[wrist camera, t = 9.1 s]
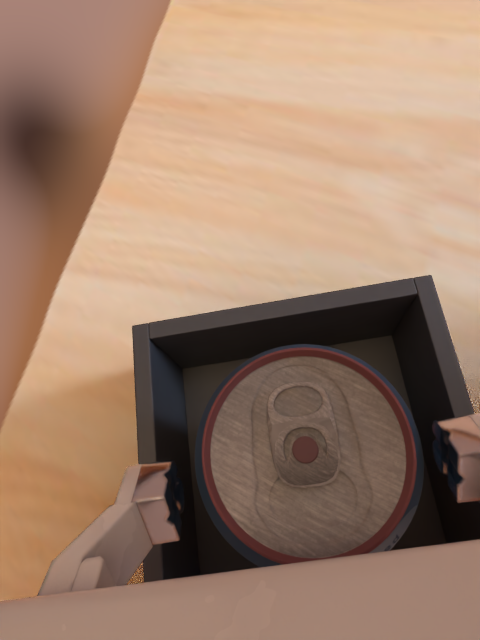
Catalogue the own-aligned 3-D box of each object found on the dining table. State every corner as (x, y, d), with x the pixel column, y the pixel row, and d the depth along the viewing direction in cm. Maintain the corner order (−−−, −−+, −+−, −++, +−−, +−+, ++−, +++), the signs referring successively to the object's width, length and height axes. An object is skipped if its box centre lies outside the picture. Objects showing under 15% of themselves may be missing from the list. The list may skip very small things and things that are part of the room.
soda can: (386, 527, 22) (477, 583, 10) (246, 542, 22) (188, 611, 11) (357, 387, 24) (405, 309, 13) (231, 404, 25) (172, 345, 13)
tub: (401, 321, 25) (431, 274, 19) (476, 595, 20) (546, 642, 15) (169, 358, 26) (131, 325, 20) (189, 627, 21) (147, 683, 16)
